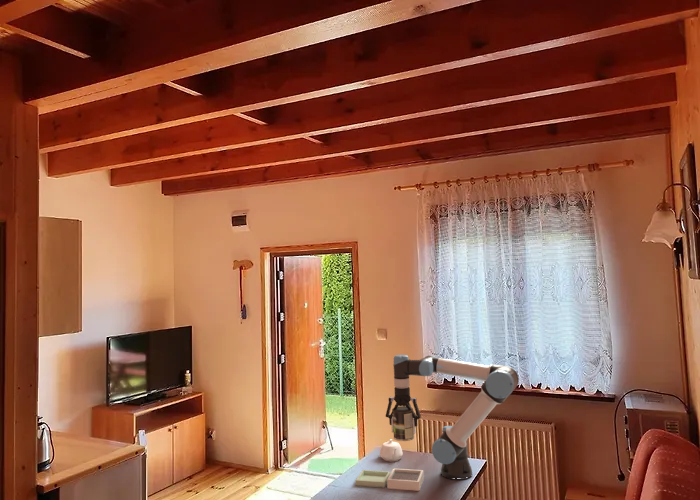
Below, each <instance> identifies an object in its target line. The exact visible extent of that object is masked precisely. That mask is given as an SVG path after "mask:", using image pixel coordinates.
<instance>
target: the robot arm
mask: <svg viewBox="0 0 700 500" xmlns="http://www.w3.org/2000/svg"><path fill="white" fill-rule="evenodd" d="M392 365H393V383H394V385H393V386H394V396H390V397H388V404H387V408H386V412H385V413H386V414H385V418H388V419H389V422H388V423H389V425H390V426H391V433H394V430H393V412H392V411H391V410H392V409H391V408H392V405H393V402H394V401H395V405H394V407H393V408H394V410H396V409H397V408H398V407H401V406H405V407H407V408H408V410H412V408H413V409H414V410H413V411H412V417H413V434H414V435H415V434H416V433H417V431H416V430H417V429H416V428H417V427H418V420H420V419H421V418H422V416H421V412H420V409H419V406H418V403H417V397H411V389H410V376H418V377H431V376H433V373H437V374H442V375H446V376H447V375H449V376H451V377H452V376H454V377H459V378H465V379H470V380H475V381H480V382H483V383H482V385H481V386H480V388H481V389H480V390H481V391H480V392H479V393H478V395H477V396H476V397H475V399H474V400H473V401H472V402H471V404H470V405H469V406H468V407H467V408H466V409H465V411H463V413H462V414H461V415H460V417H458V419H457V421H456V422H455V423H453V425H446V426H445V425H444V426H443V427H442V430H441V431H442V433H441V434H440V435H439V437H438V438H437V439H436V440H434V442H433V444H432V446H431V454H432V455H433V457H434V459H435V460H436V461H437V462H438V463H440V464H441V468H440V475H441V474H442V475H441V476H442V477H443V476H444V477H443V478H445V477H447V478H446V479H449V478H455V479H457V478H466V477H470V476H471V475H472V476H473V469H472V466H471V463H470V461H469V458H468V457H469V455H468V439H469V438H470V437H471V436H472V434H473V433H474V432H475V431H476V429H477V428H478V427H479V426H480V425H481V424H482V422H483V421H484V420H485V419H486V418H487V416H488V415H489V414H490V413H491V412H492V411H493V409H495V407H496V406H497V405H502V404H503V403H504V402H505V401H506V400H507V398H508V397H509V396H510V395H511V394H512V393H513V391H515V389H516V388H517V387H518V384H519V381H520V379H519V374H518V373H517V371H516V370H515V369H514V368H513V367H510V366H508V365H502V364H494V363H493V364H489V365H486V364H485V365H484V364H480V363H472V362H466V361H460V360H454V359H447V358H441V357H440V358H439V357H436V356H435V355H431V354H430V355H426V356H425V357H423V358H420V359H409V356H408V354H396V355H394V356H393V364H392ZM410 402H411V403H412V404H413V407H412V405H411V403H410ZM472 476H471V477H472ZM471 477H470V478H471ZM455 479H454V480H455Z"/></svg>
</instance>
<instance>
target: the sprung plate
mask: <svg viewBox="0 0 700 500" xmlns="http://www.w3.org/2000/svg"><path fill="white" fill-rule="evenodd" d="M419 475H420V473H407V472H395V474H394V475H393V477H392V479H396V480H411V481H417V480H418V478H419Z"/></svg>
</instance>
